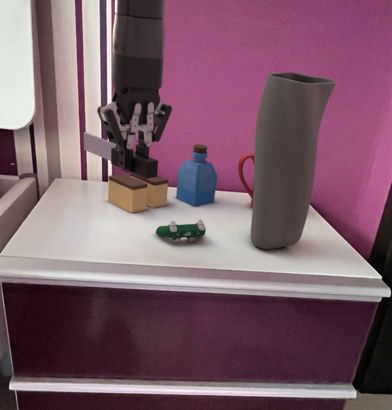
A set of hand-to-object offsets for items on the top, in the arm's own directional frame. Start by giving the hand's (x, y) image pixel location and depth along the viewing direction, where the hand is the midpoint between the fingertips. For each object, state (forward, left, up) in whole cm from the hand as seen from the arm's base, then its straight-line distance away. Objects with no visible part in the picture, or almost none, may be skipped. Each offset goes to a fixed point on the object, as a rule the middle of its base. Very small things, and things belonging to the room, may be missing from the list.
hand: (133, 169), depth 92 cm
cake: (+19, +20, -15) cm, 31 cm away
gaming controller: (+13, 0, -15) cm, 20 cm away
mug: (+42, +4, -15) cm, 45 cm away
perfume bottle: (+32, +15, -15) cm, 38 cm away
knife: (0, +4, 0) cm, 5 cm away
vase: (+27, -11, -15) cm, 33 cm away
